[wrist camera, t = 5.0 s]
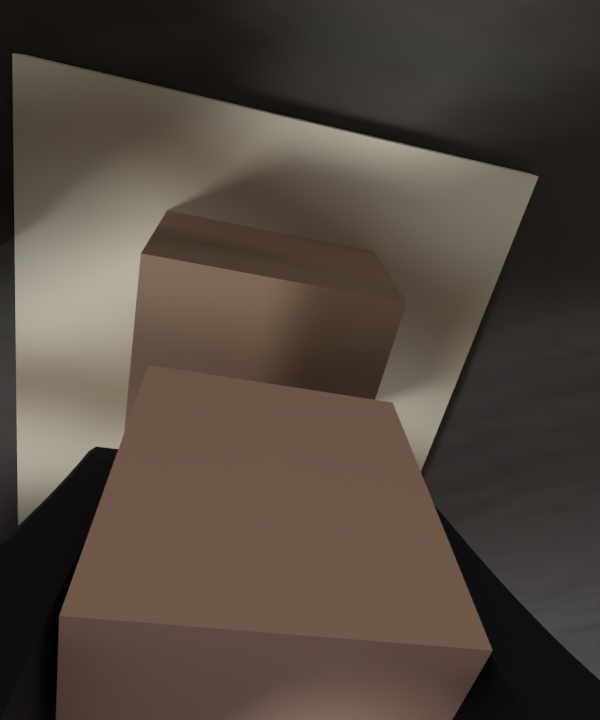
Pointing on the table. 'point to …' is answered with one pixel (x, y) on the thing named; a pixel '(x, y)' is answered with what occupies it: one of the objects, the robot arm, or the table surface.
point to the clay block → (265, 566)
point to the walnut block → (262, 308)
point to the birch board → (228, 204)
